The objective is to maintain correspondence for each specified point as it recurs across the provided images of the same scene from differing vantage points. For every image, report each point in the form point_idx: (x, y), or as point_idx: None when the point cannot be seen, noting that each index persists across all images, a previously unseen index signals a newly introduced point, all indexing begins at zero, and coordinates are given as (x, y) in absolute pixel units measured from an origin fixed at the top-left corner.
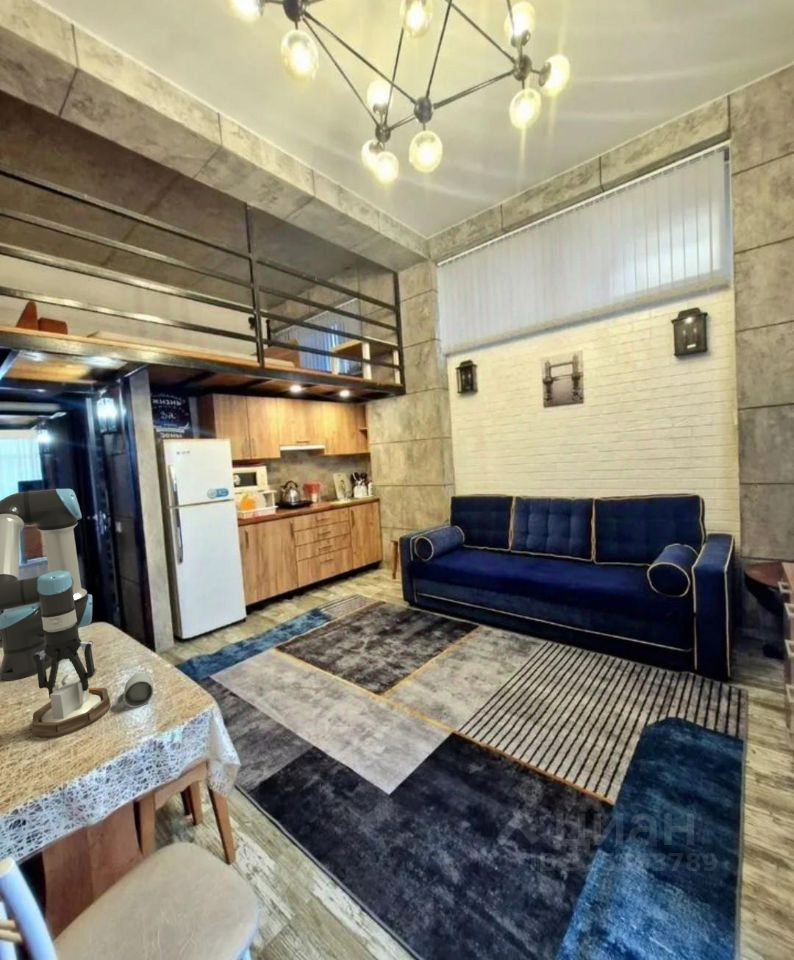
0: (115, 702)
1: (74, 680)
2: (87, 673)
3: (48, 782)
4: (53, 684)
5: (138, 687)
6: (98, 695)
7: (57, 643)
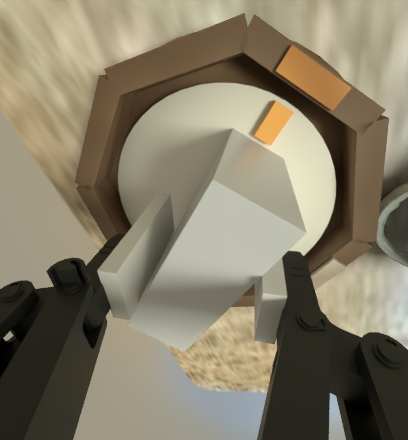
0: (389, 211)
1: (210, 239)
2: (343, 420)
3: (233, 378)
4: (98, 315)
5: None
6: (324, 110)
7: None
